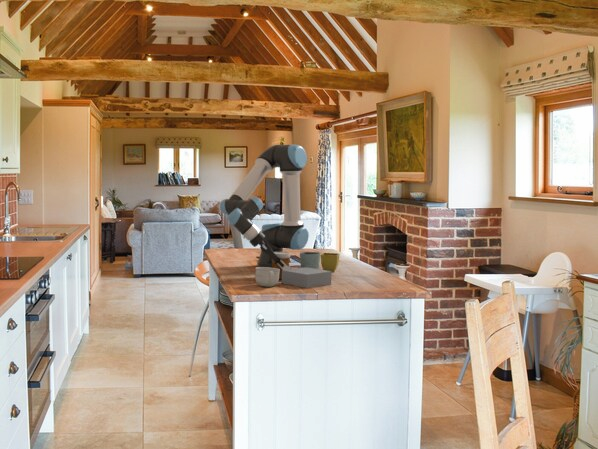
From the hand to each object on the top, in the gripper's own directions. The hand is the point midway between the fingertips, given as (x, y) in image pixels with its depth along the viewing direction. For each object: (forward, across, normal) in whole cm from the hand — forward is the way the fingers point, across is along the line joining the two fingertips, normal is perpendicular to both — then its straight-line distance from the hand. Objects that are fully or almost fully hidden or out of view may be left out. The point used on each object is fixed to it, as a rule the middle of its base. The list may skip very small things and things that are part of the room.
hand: (287, 269), depth 313 cm
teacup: (-4, +22, -11) cm, 25 cm away
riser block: (+8, +14, +2) cm, 17 cm away
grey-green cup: (+11, -4, +5) cm, 13 cm away
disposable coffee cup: (+1, 0, -5) cm, 5 cm away
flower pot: (+21, -24, +14) cm, 35 cm away
